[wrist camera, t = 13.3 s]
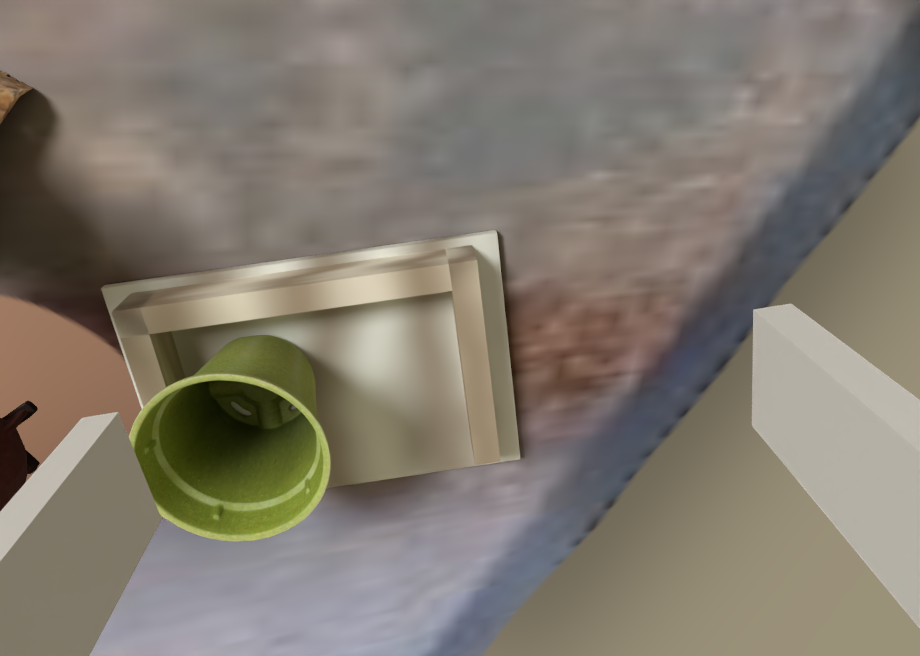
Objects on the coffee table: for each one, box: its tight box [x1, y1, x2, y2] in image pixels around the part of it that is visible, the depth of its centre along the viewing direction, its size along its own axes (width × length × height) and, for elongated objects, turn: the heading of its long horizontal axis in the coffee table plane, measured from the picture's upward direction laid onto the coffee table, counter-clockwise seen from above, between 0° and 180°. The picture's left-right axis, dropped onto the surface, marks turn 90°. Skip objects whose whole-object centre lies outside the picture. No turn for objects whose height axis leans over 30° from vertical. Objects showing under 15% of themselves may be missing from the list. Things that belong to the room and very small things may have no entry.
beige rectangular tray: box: [101, 230, 520, 488], centre depth 41 cm, size 22×15×4 cm
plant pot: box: [129, 335, 331, 541], centre depth 37 cm, size 9×9×9 cm
